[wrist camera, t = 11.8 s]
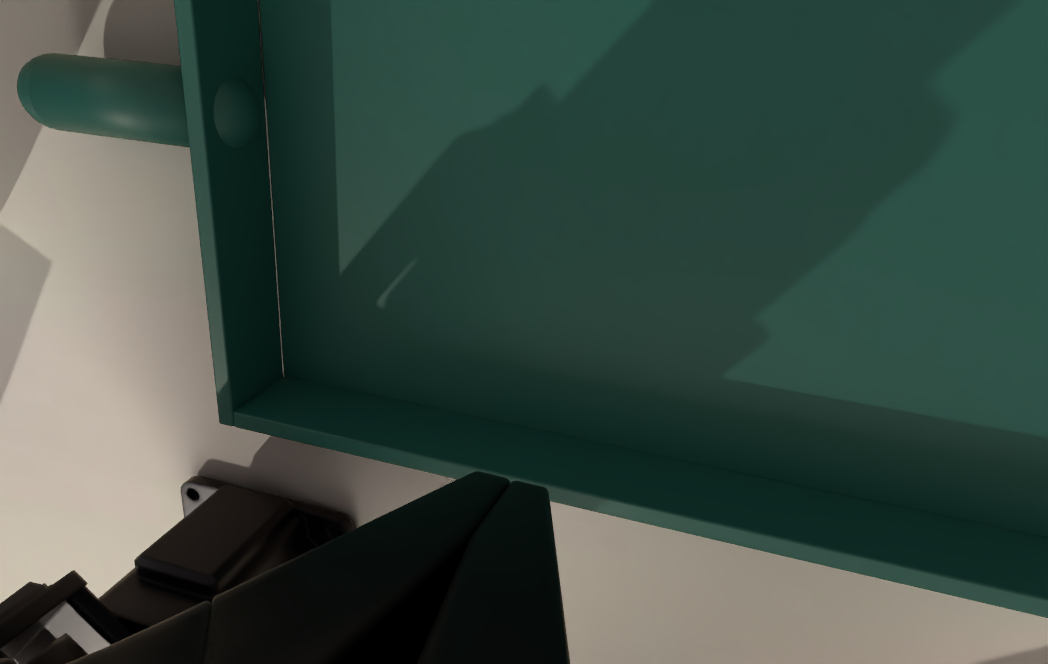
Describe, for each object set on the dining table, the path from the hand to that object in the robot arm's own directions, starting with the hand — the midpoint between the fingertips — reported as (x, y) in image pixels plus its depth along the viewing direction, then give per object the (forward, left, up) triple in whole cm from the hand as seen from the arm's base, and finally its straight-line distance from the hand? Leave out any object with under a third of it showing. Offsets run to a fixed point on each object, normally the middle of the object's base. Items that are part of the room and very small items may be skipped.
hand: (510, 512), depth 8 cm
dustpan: (+2, +1, -11) cm, 12 cm away
